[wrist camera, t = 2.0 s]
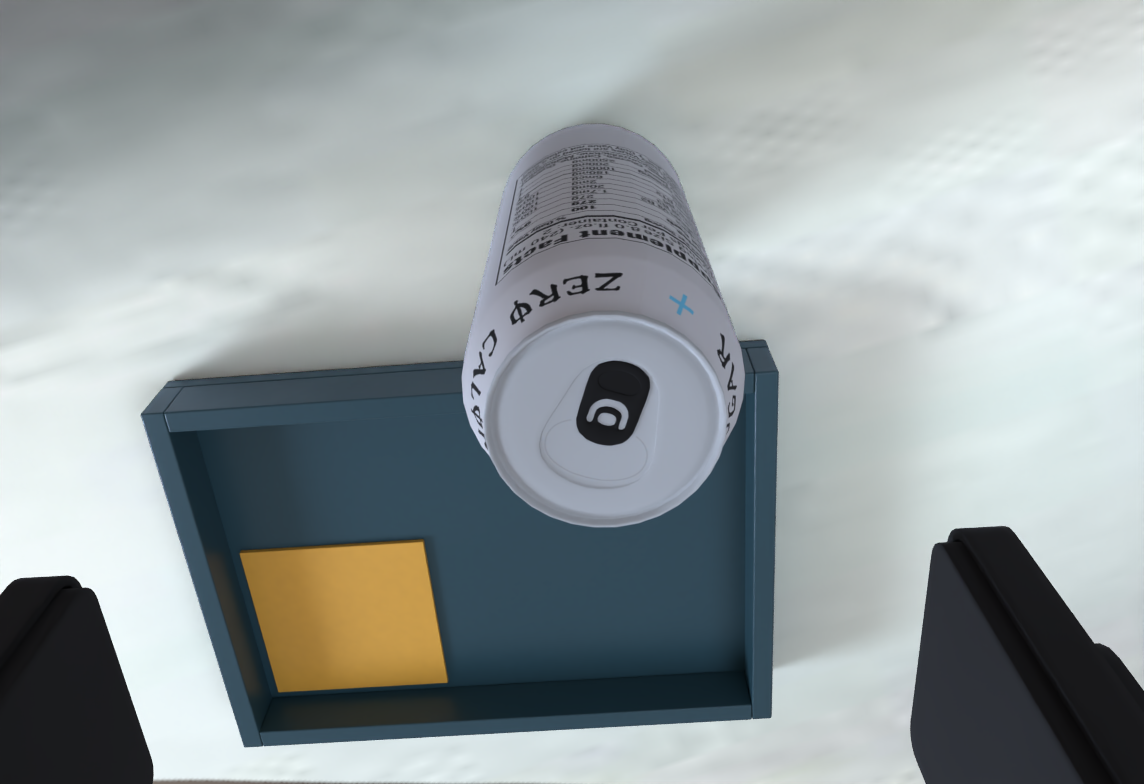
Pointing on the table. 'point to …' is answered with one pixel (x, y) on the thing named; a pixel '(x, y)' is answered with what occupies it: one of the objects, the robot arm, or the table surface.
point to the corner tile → (347, 615)
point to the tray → (472, 558)
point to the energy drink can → (600, 335)
